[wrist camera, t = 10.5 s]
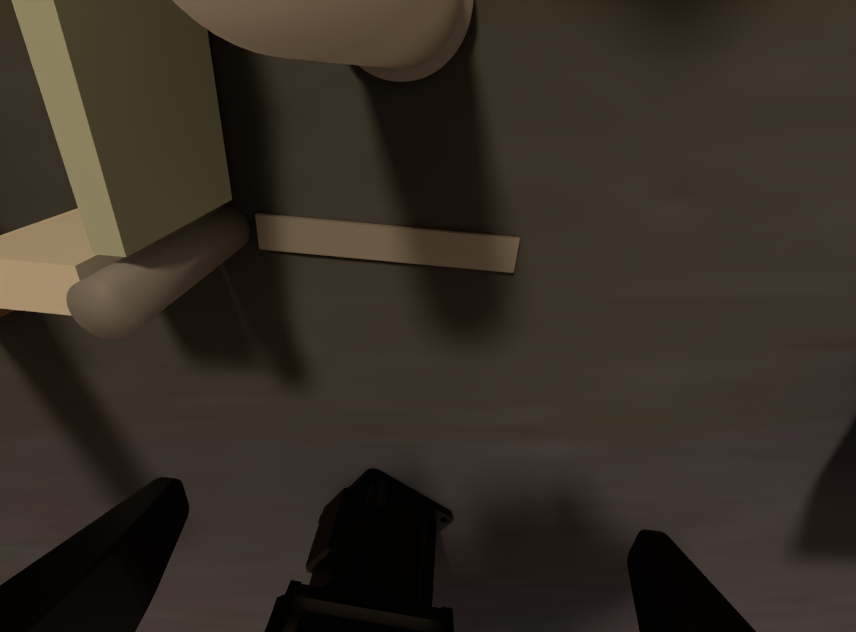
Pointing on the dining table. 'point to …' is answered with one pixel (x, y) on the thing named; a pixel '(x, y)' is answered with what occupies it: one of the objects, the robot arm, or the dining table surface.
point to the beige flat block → (129, 114)
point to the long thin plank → (202, 261)
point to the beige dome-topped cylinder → (343, 31)
